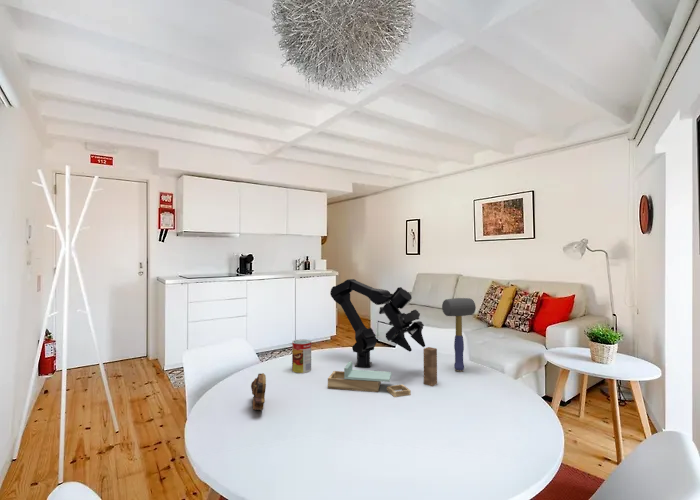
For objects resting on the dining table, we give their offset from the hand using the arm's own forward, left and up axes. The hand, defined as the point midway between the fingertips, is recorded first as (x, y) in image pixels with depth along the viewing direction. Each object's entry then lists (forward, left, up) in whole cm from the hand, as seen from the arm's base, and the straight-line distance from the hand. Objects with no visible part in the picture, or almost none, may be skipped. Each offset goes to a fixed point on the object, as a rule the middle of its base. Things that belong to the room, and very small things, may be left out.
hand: (417, 348), depth 136 cm
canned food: (-3, -47, -12) cm, 49 cm away
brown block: (+3, +5, -12) cm, 13 cm away
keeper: (+14, -6, -12) cm, 19 cm away
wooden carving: (+35, -48, -12) cm, 61 cm away
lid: (+10, -17, -8) cm, 22 cm away
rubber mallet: (-15, +17, -12) cm, 25 cm away
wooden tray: (+10, -22, -12) cm, 28 cm away
